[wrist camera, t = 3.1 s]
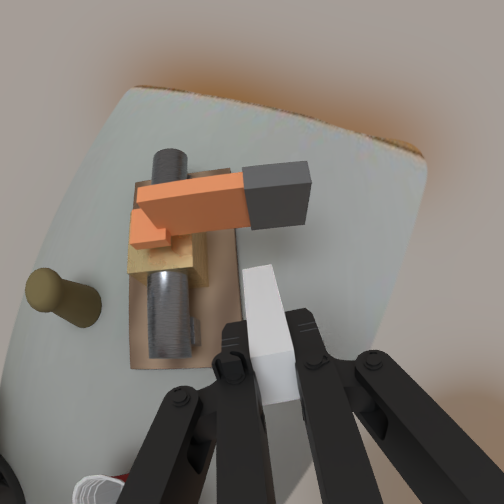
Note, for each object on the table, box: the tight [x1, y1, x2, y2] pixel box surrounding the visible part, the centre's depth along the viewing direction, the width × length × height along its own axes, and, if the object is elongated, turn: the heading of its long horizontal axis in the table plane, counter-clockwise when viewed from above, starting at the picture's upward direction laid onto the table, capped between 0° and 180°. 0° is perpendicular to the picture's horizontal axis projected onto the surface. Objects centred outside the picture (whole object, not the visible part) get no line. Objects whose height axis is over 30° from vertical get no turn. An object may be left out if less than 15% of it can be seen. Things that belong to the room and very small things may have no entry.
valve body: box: [127, 149, 209, 359], centre depth 36 cm, size 7×24×8 cm, turn 5°
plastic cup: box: [72, 473, 129, 504], centre depth 26 cm, size 11×11×12 cm
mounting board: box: [129, 168, 242, 369], centre depth 41 cm, size 14×26×2 cm, turn 5°
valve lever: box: [130, 161, 312, 250], centre depth 28 cm, size 16×4×8 cm, turn 95°
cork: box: [25, 268, 102, 328], centre depth 35 cm, size 6×6×11 cm
